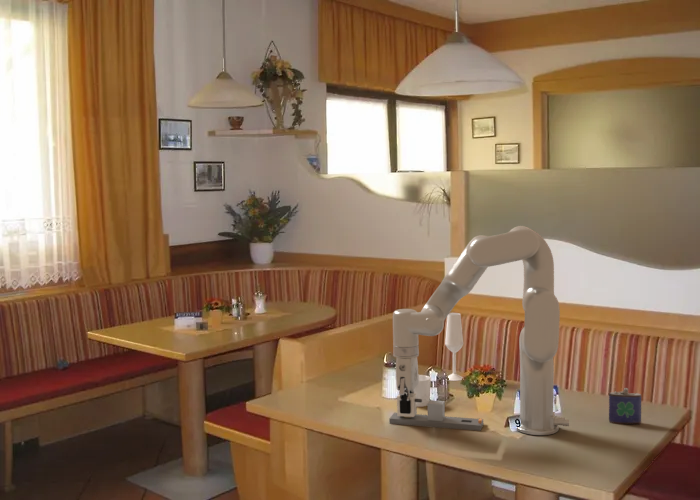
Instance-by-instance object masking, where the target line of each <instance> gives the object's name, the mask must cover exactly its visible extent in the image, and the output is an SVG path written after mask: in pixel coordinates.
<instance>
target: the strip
mask: <svg viewBox="0 0 700 500" xmlns="http://www.w3.org/2000/svg"><path fill="white" fill-rule="evenodd" d="M389 424H391V425H401V426H402V425H403V426H404V425H405V426H414V427H415V426H418V427H428V428H429V427H430V428H440V429H451V430H452V429H453V430H468V431H477V432H478V431H482V428H483V426H484V419H483V418H473V417H472V418H471V417H460V416H459V417H457V416H448V415H447V416H446V415H445V418H444V420H443V421H432V420H428V414H420V413H419V414H418V413H416V415H415V416H414V417H411V418H404V416H397V412H393V413H392V415H391V416H390V417H389Z"/></svg>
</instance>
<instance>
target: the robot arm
mask: <svg viewBox="0 0 700 500" xmlns="http://www.w3.org/2000/svg"><path fill="white" fill-rule="evenodd" d="M553 257H554V256H553V253H552V250H551V247H550V245H549V244H548V243H547V241H546V239H544V237H542V235H540V234H539V233H538V232H537V231H535V230H533V229H532V228H530V227H527V226H525V225H517V226H515V227H513V228H511V229H510V230H509V231H508V232H505V233H504V232H503V233H500V234H494V235H485V234H484V235H483V234H481V235H476V236H474V237H472V239H471V240H470V241H469V242H468V243H467V245H465V247H464V249H463V250H462V252H461V254H460V255H459V257H458V258H457V259H456V260H455V262H454V263H453V265H452V266H451V268H450V269H449V270H448V271H447V273H446V274H445V276H444V277H443V279H442V281H441V283H440V284H439V285H438V286H437V288H436V289H435V290H434V292H433V293H432V295H431V296H430V297H429V299H428V300H427V302H426V303H425V304H424V306H423V307H422V309H421V311H417V310H415V309H413V308H400V309H396V310H394V311H393V313H392V341H393V342H392V345H393V346H392V347H393V349H392V350H393V353H392V354H393V357H394V358H396V360H395V361H396V362H395V363H396V367H395V382H396V390H398V391H399V394H398V395H400V413H403V414H410V413H411V400H409V399H410V393H414V389H415V388H416V387H417V385H418V383H419V376H418V375H419V365H418V364H419V363H418V357H419V355H420V351H419V340H420V339H419V335H420V336H426V337H427V336H428V337H435V336H437V335H440V334H441V332H442V331H443V330H444V326H445V321H446V320H447V316H448V314H449V313H452V312H451V311H452V310H453V309H454V307H455V306H456V305H457V303H459V301H460V300H461V299H463V298H464V297H466V296H467V295H468V294H469V293H470V292H471V291H472V290H473V289H474V287H475V286H476V284H477V283H478V281H479V280H480V278H481V277H482V276H483V274H484V273H485V272H486V271H487V268H488V267H489V268H490V267H494V266H500V265H504V264H510V263H513V262H518V261H522V263H523V265H522V266H523V293H522V294H523V295H522V303H521V304H522V309H523V311H524V324H523V325H524V326H523V328H522V329H521V331H520V334H519V338H518V339H519V340H518V341H519V342H518V343H519V345H518V346H519V366H520V369H519V370H520V371H519V372H520V373H519V375H520V376H519V420H520V419H521V425H522V426H521V427H517V430H516V431H518V432H520V433H523V434H526V435H532V436H547V435H548V436H549V435H553V434H556V433H557V432H559V429H560V428H559V427H560V426H563V427H569V426H570V419H566V417H560V416H559V417H558V416H557V415H556V412H555V411H554V377H555V376H554V375H555V373H554V371H555V369H554V368H555V367H554V365H555V363H554V357H555V355H556V354H557V352H558V349H559V343H560V342H559V339H560V322H561V321H560V320H561V319H560V316H561V315H560V314H561V312H560V303H559V300H558V298H557V296H556V295H555V263H554V258H553ZM406 393H407V394H406Z"/></svg>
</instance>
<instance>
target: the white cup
mask: <svg viewBox="0 0 700 500" xmlns="http://www.w3.org/2000/svg"><path fill="white" fill-rule="evenodd" d="M418 376H419V383H418V385H417V387H416V388H415V389H414V393H415V394H416V399H422V402H417V408H419V407H422V408H423V407H426V406H427V407H428V402H429V401H430V400H431V399H430V397H431V380H432V379H431V377H430V376H429V375H424V374H418Z"/></svg>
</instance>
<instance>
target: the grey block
mask: <svg viewBox="0 0 700 500" xmlns="http://www.w3.org/2000/svg"><path fill="white" fill-rule="evenodd" d="M445 408H446V407H445V400H434V399H433V400H432V399H430V400H429V402H428V405H427V415H428V420H432V421H443V420H444V418H445V416H446V415H445V413H446V411H445V410H446V409H445Z"/></svg>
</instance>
